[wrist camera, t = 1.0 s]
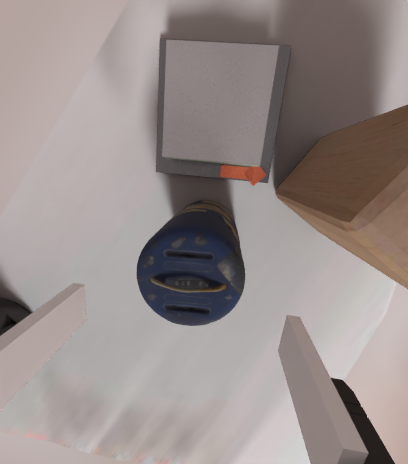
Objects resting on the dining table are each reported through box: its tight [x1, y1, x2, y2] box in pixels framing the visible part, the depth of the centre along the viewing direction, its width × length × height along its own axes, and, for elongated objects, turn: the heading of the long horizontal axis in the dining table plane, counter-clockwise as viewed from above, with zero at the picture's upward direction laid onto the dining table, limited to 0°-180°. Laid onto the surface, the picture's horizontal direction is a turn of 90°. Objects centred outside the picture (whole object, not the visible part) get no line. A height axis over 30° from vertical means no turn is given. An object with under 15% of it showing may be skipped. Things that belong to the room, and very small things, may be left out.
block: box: [276, 105, 408, 289], centre depth 21 cm, size 10×10×20 cm
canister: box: [137, 201, 245, 326], centre depth 25 cm, size 10×10×18 cm
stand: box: [156, 39, 291, 186], centre depth 27 cm, size 16×17×5 cm
